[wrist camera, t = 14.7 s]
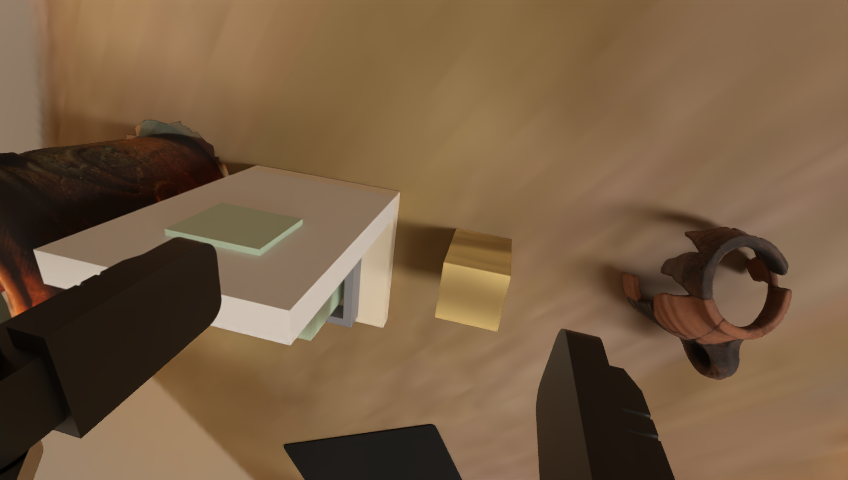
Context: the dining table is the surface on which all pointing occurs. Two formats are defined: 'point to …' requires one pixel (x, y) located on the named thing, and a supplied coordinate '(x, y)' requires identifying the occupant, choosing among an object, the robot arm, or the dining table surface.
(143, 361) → the robot arm
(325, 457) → the table lamp
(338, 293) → the sage block
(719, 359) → the pottery mug
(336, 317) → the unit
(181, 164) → the vessel
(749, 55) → the dining table surface
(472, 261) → the mustard block
